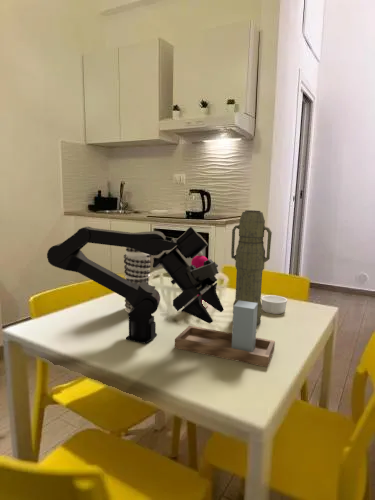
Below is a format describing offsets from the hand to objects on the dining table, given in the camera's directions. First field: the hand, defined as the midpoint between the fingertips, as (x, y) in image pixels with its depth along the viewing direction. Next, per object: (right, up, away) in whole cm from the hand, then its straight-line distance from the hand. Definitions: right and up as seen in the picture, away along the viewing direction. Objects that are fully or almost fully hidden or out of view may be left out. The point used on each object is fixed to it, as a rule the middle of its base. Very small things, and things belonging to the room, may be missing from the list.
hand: (217, 316), depth 90 cm
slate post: (+7, -8, -1) cm, 11 cm away
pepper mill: (-4, -3, +34) cm, 34 cm away
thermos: (+11, -6, +20) cm, 24 cm away
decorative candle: (-25, -3, +30) cm, 39 cm away
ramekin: (+22, -4, +32) cm, 39 cm away
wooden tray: (+2, -9, +1) cm, 9 cm away
